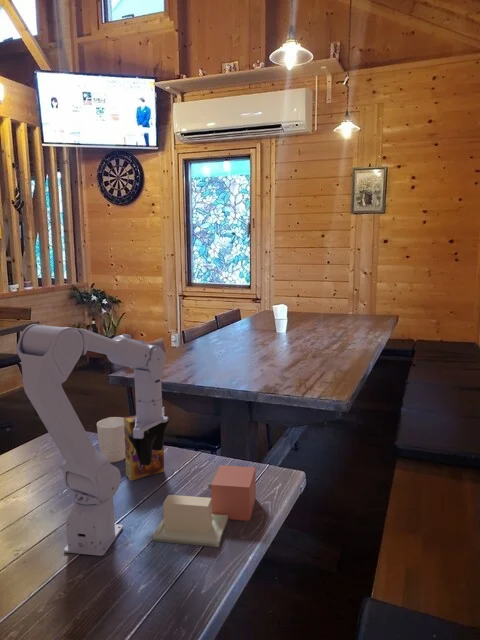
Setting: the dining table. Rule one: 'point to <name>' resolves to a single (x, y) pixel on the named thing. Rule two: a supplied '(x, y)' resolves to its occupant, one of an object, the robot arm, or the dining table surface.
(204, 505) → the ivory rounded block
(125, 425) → the candy box
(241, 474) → the coral matte cube
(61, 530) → the dining table surface
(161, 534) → the plate
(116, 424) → the white cup
